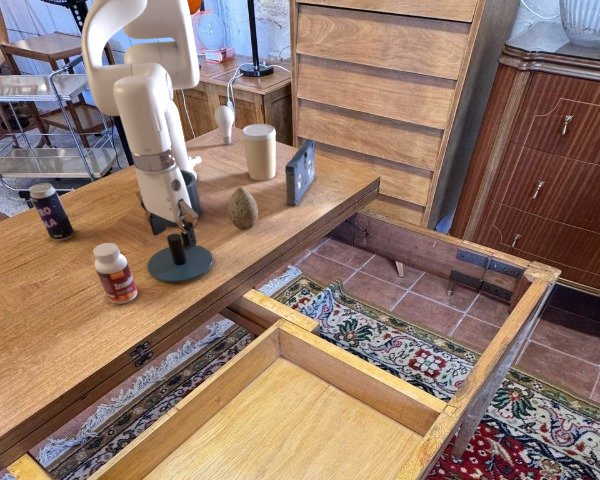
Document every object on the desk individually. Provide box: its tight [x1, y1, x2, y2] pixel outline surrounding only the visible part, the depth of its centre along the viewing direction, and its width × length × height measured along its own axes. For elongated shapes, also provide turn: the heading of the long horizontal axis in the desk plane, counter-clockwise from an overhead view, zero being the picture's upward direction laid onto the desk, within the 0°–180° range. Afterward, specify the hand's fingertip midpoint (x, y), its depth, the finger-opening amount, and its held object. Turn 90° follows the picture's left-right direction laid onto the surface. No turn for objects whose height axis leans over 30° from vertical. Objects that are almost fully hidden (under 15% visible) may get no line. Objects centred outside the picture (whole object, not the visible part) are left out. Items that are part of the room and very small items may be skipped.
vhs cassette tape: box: [284, 139, 316, 207], centre depth 119 cm, size 18×3×10 cm, turn 161°
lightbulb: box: [213, 105, 235, 146], centre depth 141 cm, size 6×6×11 cm
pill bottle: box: [92, 242, 138, 305], centre depth 90 cm, size 6×6×11 cm
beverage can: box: [29, 182, 74, 242], centre depth 105 cm, size 6×6×12 cm
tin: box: [148, 170, 202, 228], centre depth 113 cm, size 14×14×8 cm
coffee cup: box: [241, 123, 277, 181], centre depth 126 cm, size 9×9×12 cm
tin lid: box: [147, 233, 214, 284], centre depth 98 cm, size 15×15×7 cm
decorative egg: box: [227, 187, 259, 231], centre depth 107 cm, size 7×7×10 cm
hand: (175, 239), depth 96 cm, fingers open, 9 cm apart
